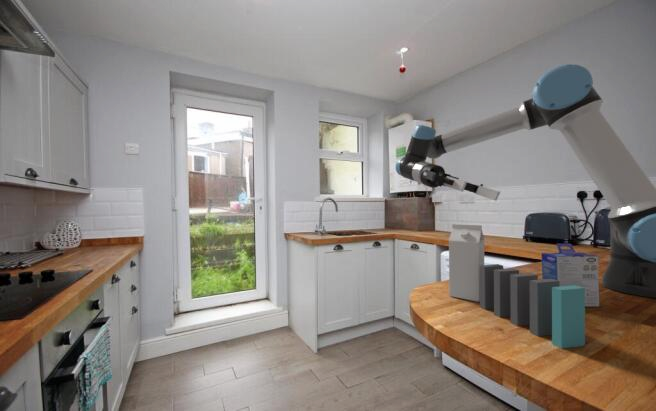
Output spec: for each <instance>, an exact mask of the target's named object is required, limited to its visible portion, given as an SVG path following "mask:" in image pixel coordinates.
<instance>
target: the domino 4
mask: <svg viewBox="0 0 656 411" xmlns="http://www.w3.org/2000/svg"><path fill="white" fill-rule="evenodd" d="M552 287H560V281H558V280H554V279H538V280H530V325H529V334H532V335H535V336H536V337H542V336H552Z"/></svg>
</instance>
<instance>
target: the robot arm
mask: <svg viewBox="0 0 656 411" xmlns="http://www.w3.org/2000/svg"><path fill="white" fill-rule="evenodd" d="M593 82H594V80H593V76H592V74H591V72H590V71H589V70H588V69H587V68H586V67H585V66H582V65H578V64H570V63H569V64H563V65H562V64H561V65H558V66H556V67H554V68H551V69H550V70H548V71H546V72H545V73H544V74H543V75H541V76H540V78H539V79H538V80H537V81H536V83H535V85H534V87H533V88H532V89H533V90H532V95H531V97H530V99H529V98H528V99H527V100H523V101H522V102H521V103H520V104H519V106H517V107H514V108H511V109H508V110H505V111H503V112H500V113H497V114H494V115H492V116H489V117H485V118H483V119H480V120H477V121H475V122H472V123H469V124H466V125H463V126H461V127H459V128H455V129H452V130H450V131H449V130H448V131H447V132H444V133H442V134H439V135H436V133H437V130H436V129H435V128H433V127H430V126H427V125H422V124H418V125H416V126H415V127H414V130H413V133H412V134H411V138H410V141H409V144H408V146H407V151H406V153H405V155H404V156H403V157H400V158H399V159H398V160H397V161H396V163H395V171H396V173H397V174H398V175H399V176H401V177H403V178H405V179H407V180H411V181H413V182H417V185H423V186H426V187H429V188H431V189H433V188H434V189H435V188H438V187H442V186H443V187H448V188H450V189H453V190H456V191H459V192H464V190H465V191H467V192H470V193H474V194H475V195H478V196H480V197H484V198H486V199H490V200H493V201H495V202H496V201H497V200H498V198H499V195H500V194H501V191H500V190H499V191H498V190H496V189H493V188H489V187H485V186H484V184H483V183H480V185H477V184H474V183H470V182H468V181H464V180H462V179H460V178H459V177H457V176H453V175H451V174H449V173H446V171H445V168H444V167H443V166H441V165H438V164H434V163H432V162H427V158H428V159H438V158H440V157H441V156H443V155H445V154H447V153H451V152H454V151H457V150H460V149H463V148H467V147H469V146H472V145H476V144H480V143H482V142H483V143H484V142H486V141H489V140H493V139H495V138H499V137H502V136H505V135H509V134H512V133H514V132H517V131H520V130H524V129H526V130H528V131H530V130H535V129H538V128H542V127H545V126H548V127H549V129H550V130H556V131H559V132H560V133H561V134H562V136H563V137H564V139H565V141H567V142H566V143H568V145H569V146H570V148H571V149H572V151H573V153H574V154H575V155H576V157H577V159H578V160H579V162H580V163H581V164H582V166H583V169H585V171H586V173H588V175H589V177H590V179H591V180H592V182H594V184H595V185H596V187H597V189H598V190H599V191H600V192H599V193H601V195H602V197H603V198H604V199H605V201H606V202H607V204H608V206H609V207H610V211H609V213H608V216H607V218H608V220H609V221H610V224H609V226H610V228H609V229H610V230H609V231H610V232H609V233H610V236H609V237H610V243H609V244H610V247H609V248H610V250H609V251H610V260H609V261H608V264H607V266H606V268H605V271H604V273H603V275H602V277H601V285H602V286H603V287H605V288H607V289H610V290H613V291H617V292H620V293H623V294H624V293H625V294H628V295H632V296H633V295H634V296H638V297H639V296H640V297H646V298H653V299H656V187H655V186H654V184H653V183H652V181H651V180H650V179H649V177H648V176H647V175H646V173H645V172H644V170H643V169H642V167H641V166H640V165H639V163H638V162H637V161H636V159H635V158H634V157H633V155H632V154H631V152H630V151H629V149H628V148H627V147H626V145H625V144H624V143H623V141H622V140H621V138H620V136H619V135H618V134H617V133H616V131H615V130H614V129H613V127H612V126H611V124H610V123H609V121H607V119H606V118H605V116H604V115H603V113H602V112H601V107H602V104H603V102H604V100H603V99H602V98H601V95H600V94H599V93H598V92H597V91H596V88H594V86H593Z"/></svg>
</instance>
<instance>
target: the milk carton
mask: <svg viewBox="0 0 656 411" xmlns="http://www.w3.org/2000/svg"><path fill="white" fill-rule="evenodd" d="M451 227H452V228H451V232H450V234H449V239H448V269H449V270H448V280H449V281H448V284H449V286H448V290H449V292H448V294H449V297H452V298H458V299H463V300H467V301H468V300H469V301H473V302H478V303H480V265H485V238H484V233H483V232H484V231H483V229H482V228H483V226H482V225H481V224H480V225H479V224H475V225H474V224H456V223H455V224H452V226H451Z"/></svg>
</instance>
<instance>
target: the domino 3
mask: <svg viewBox="0 0 656 411" xmlns="http://www.w3.org/2000/svg"><path fill="white" fill-rule="evenodd" d="M530 280H539V277H538V274H536V273H531V272H527V273H519V274H512V275H510V300H511V316H510V324H512V325H514V326H515V327H521V326H530Z"/></svg>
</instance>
